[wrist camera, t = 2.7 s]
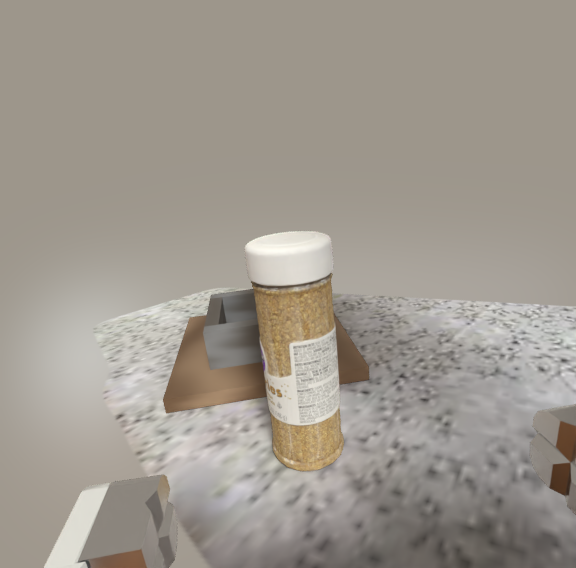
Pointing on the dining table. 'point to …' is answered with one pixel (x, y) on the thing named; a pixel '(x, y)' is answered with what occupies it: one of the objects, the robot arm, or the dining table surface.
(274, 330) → the sprinkles bottle
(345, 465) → the dining table surface
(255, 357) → the socket base
